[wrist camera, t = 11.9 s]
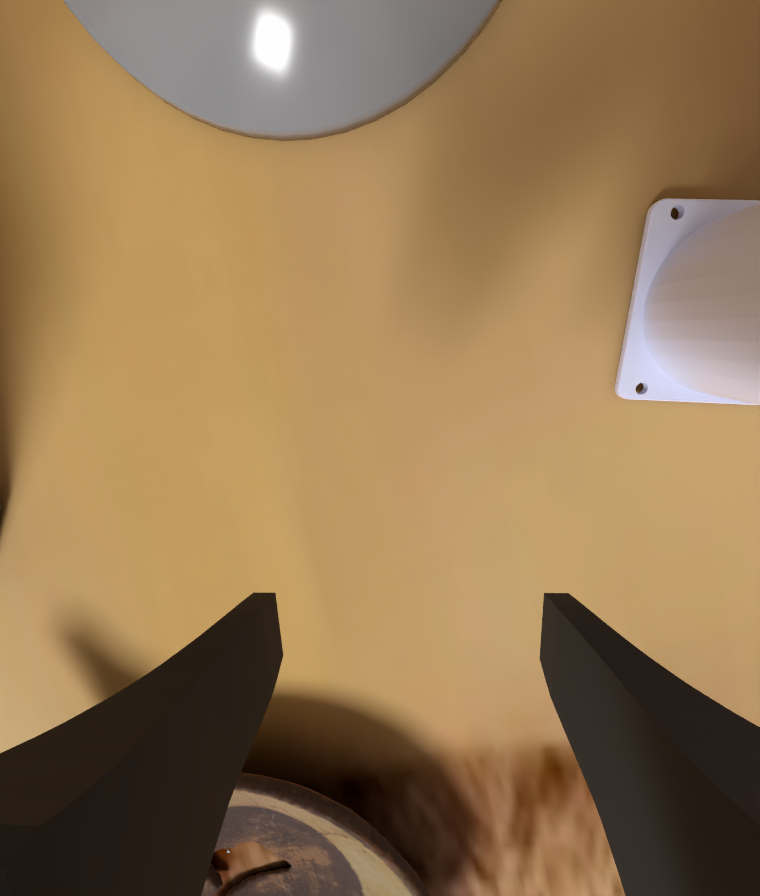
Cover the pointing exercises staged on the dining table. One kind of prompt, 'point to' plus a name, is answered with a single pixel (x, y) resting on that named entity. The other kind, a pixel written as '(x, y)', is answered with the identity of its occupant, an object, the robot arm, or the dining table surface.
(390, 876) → the oil lamp
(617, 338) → the dining table surface
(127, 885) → the robot arm
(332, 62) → the ring platter
